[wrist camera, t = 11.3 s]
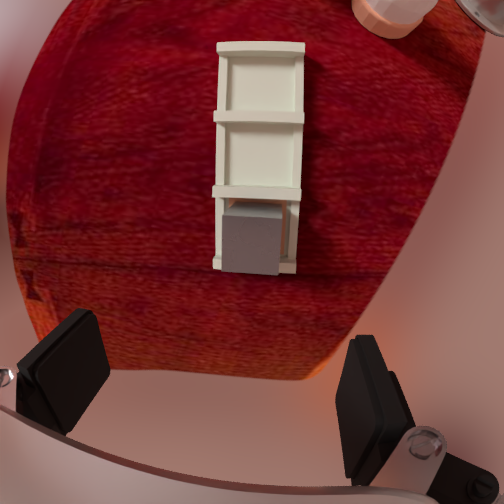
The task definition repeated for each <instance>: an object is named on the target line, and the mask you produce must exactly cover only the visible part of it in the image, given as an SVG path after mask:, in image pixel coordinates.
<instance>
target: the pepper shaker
mask: <svg viewBox="0 0 504 504" xmlns="http://www.w3.org/2000/svg"><path fill="white" fill-rule="evenodd" d="M437 1H438V0H352V10H353V12H354V15H355V17H356V18H357V19H358V21H359V22H360V23H361V24H362V25H363V26H364V27H365V28H367V29H368V30H369V31H370V32H372V33H374V34H376V35H378V36H381V37H385V38H388V39H399V38H402V37H404V36H406V35H408V34H409V33H410V32H411V31H412V30H413V29H414V28H416V27H417V26H418V25H419V24H420V23H421V22H422V20H423V17H424V15H425V14H426V13H428V12H429V11H430V10H431V9H432V8H433V7H434V6H435V5H436V3H437Z"/></svg>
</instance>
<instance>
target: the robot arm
mask: <svg viewBox="0 0 504 504" xmlns="http://www.w3.org/2000/svg"><path fill="white" fill-rule="evenodd" d="M456 2H457V3H458V4H459V6H460V7H461V8H462V9H463V11H464V12H465V13H466V14H467V15H468V16H469V17H470V18H471V19H472V20H473V21H475V22H476V23H477V24H478V25H479V26H481V27H482V28H483V29H485V30H486V31H488V32H490V33H491V34H494V35H496V36H500V37H504V0H456ZM17 367H18V369H19V372H18V373H16V371H15V369H13V368H12V367H9V366H2V367H0V504H504V494H503V495H501V494H499V483H498V481H497V479H496V477H495V476H494V475H493V474H492V473H490V472H489V471H486V470H484V469H482V468H479V467H477V466H475V465H473V464H471V463H468V462H466V461H464V460H462V459H460V458H458V457H455V456H453V455H451V454H449V453H447V452H446V449H447V442H446V440H445V438H444V436H443V435H442V434H441V433H440V432H439V431H438V430H436V429H434V428H432V427H428V426H417V427H416V425H415V422H414V420H413V417H412V414H411V412H410V409H409V407H408V404H407V401H406V399H405V396H404V394H403V391H402V389H401V386H400V384H399V382H398V379H397V377H396V375H395V373H394V372H393V371H388V369H387V367H386V364H385V362H384V359H383V357H382V354H381V352H380V350H379V347H378V345H377V343H376V340H375V338H374V336H373V335H357V336H356V337H355V339H351V340H350V342H349V346H348V351H347V355H346V359H345V363H344V367H343V371H342V374H341V378H340V382H339V386H338V389H337V393H336V399H335V400H336V401H335V403H336V409H337V416H338V423H339V430H340V437H341V444H342V452H343V459H344V468H345V476H346V478H351V482H352V486H331V487H330V486H323V487H297V486H274V485H259V484H246V483H238V482H229V481H221V480H214V479H208V478H203V477H197V476H192V475H187V474H182V473H177V472H172V471H168V470H164V469H160V468H155V467H152V466H148V465H145V464H141V463H138V462H134V461H131V460H127V459H124V458H121V457H118V456H115V455H112V454H109V453H106V452H103V451H101V450H98V449H95V448H93V447H90V446H87V445H85V444H82V443H80V442H77V441H75V440H73V439H70V438H68V437H66V434H67V433H68V432H71V431H72V429H73V428H74V427H75V425H76V424H77V422H78V421H79V419H80V418H81V416H82V414H83V413H84V412H85V410H86V409H87V407H88V406H89V404H90V403H91V401H92V400H93V398H94V397H95V396H96V394H97V393H98V391H99V390H100V388H101V387H102V385H103V384H104V383H105V381H106V380H107V378H108V377H109V375H110V366H109V363H108V359H107V356H106V352H105V349H104V345H103V341H102V338H101V334H100V330H99V326H98V321H97V318H96V316H95V315H94V314H93V312H92V311H91V310H87V309H82V308H78V309H76V310H75V311H74V312H73V313H71V314H70V315H69V316H68V317H67V318H66V319H65V320H64V321H62V322H61V323H60V324H59V325H58V326H57V327H56V328H55V329H54V330H52V331H51V332H50V333H49V334H48V335H47V336H46V337H45V338H44V339H43V340H42V341H40V342H39V343H38V344H37V345H36V346H35V347H34V348H33V349H32V350H31V351H30V352H29V353H28V354H27V355H26V356H25V357H24V358H23V359H21V360H20V361H19V362H18V363H17ZM359 485H361V486H359Z"/></svg>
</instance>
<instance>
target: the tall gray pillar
mask: <svg viewBox="0 0 504 504" xmlns="http://www.w3.org/2000/svg"><path fill="white" fill-rule="evenodd" d="M281 232H282V204H274V203H258V202H238V201H235V202H234V203H233V204H232V205H231V206H230V208H229V209H228V210H227V211H226V212H225V213H224V214H223V215H222V258H221V271H225V272H239V273H252V274H266V275H278V273H279V260H280V247H281Z"/></svg>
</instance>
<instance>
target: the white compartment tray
mask: <svg viewBox="0 0 504 504" xmlns="http://www.w3.org/2000/svg"><path fill="white" fill-rule="evenodd" d="M217 53H218V55H219V76H218V102H217V111H214V122H216V123H217V136H216V185H214V186H213V193H212V197H216V255H215V257H214V258H213V269H221V258H222V215H223V214H224V213H225V212H226V211H227V210H228V209H229V208H230V206H231V205H232V204H233V203H234V202H235V201H238V202H258V203H274V204H282V232H281V247H280V260H279V273H294V274H296V249H297V235H298V220H299V204H300V201H301V188H300V185H301V164H302V137H303V124H304V113H303V95H304V54H305V43H297V42H275V41H240V42H218V43H217Z"/></svg>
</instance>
